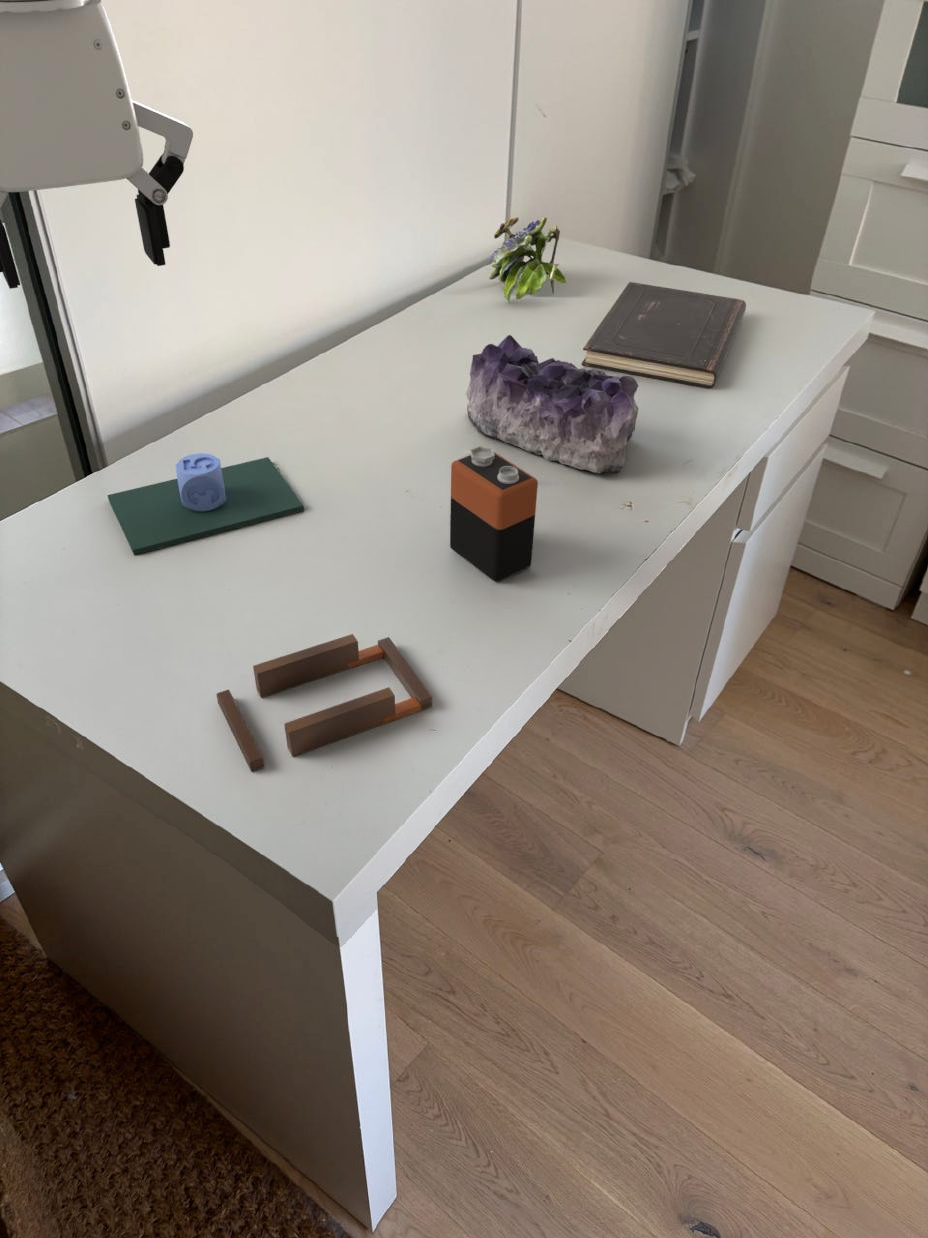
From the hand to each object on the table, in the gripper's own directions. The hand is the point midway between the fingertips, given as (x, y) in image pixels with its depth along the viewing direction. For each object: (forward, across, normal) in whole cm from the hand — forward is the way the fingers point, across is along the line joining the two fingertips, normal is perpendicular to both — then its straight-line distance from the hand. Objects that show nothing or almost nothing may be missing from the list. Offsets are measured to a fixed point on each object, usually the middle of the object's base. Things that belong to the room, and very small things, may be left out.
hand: (85, 270), depth 67 cm
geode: (+26, -43, -5) cm, 51 cm away
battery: (+26, -27, +11) cm, 39 cm away
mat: (+26, -7, -8) cm, 29 cm away
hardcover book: (+26, -70, -20) cm, 78 cm away
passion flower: (+26, -63, -42) cm, 80 cm away
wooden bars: (+26, -7, +22) cm, 35 cm away
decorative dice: (+26, -7, -8) cm, 28 cm away
